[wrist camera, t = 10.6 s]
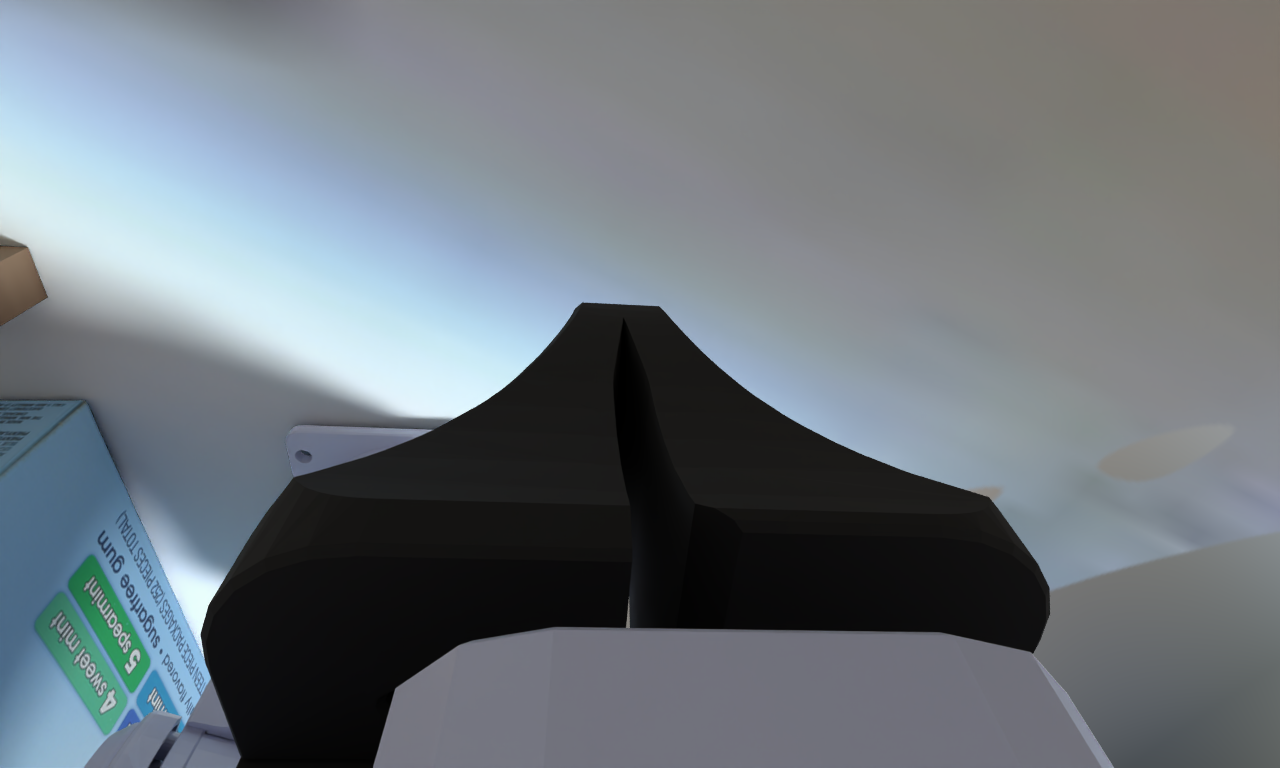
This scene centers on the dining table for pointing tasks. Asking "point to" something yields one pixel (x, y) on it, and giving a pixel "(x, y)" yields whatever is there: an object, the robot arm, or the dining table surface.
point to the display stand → (18, 282)
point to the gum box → (79, 596)
